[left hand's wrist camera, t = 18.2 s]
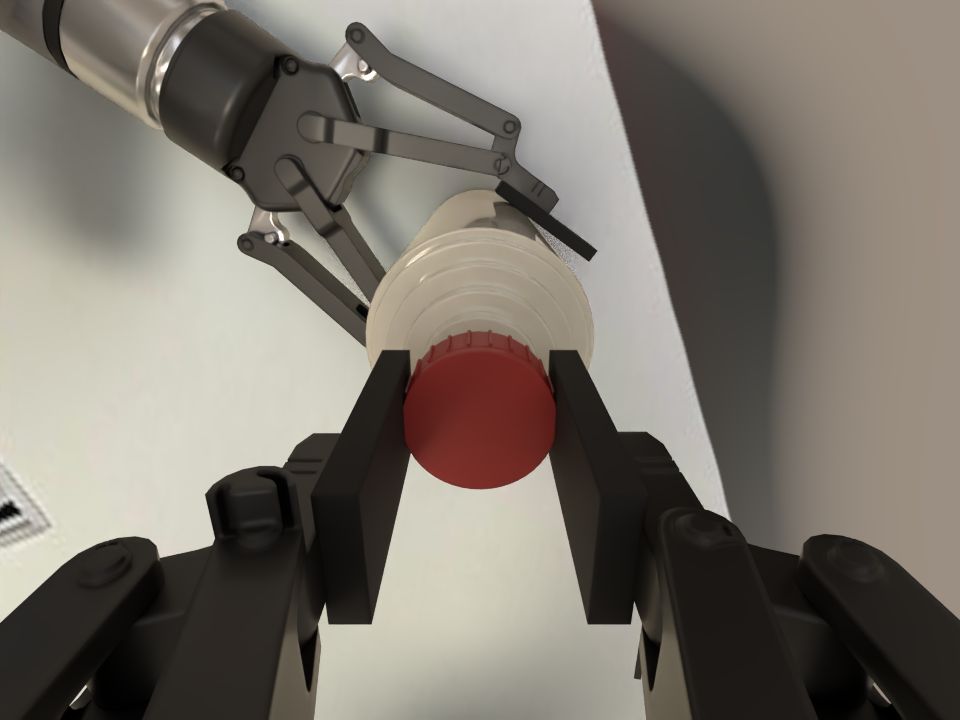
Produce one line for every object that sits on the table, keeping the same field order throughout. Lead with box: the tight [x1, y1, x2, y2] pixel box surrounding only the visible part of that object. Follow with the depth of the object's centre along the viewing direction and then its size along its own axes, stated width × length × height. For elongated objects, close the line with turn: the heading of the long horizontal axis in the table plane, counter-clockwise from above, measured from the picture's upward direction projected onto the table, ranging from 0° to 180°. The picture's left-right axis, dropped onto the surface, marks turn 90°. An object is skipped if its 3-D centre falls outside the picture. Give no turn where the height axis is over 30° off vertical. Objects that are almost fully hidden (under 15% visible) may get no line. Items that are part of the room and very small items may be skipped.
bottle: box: [366, 190, 594, 376], centre depth 25 cm, size 8×8×25 cm
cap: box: [403, 330, 556, 489], centre depth 14 cm, size 4×4×2 cm
